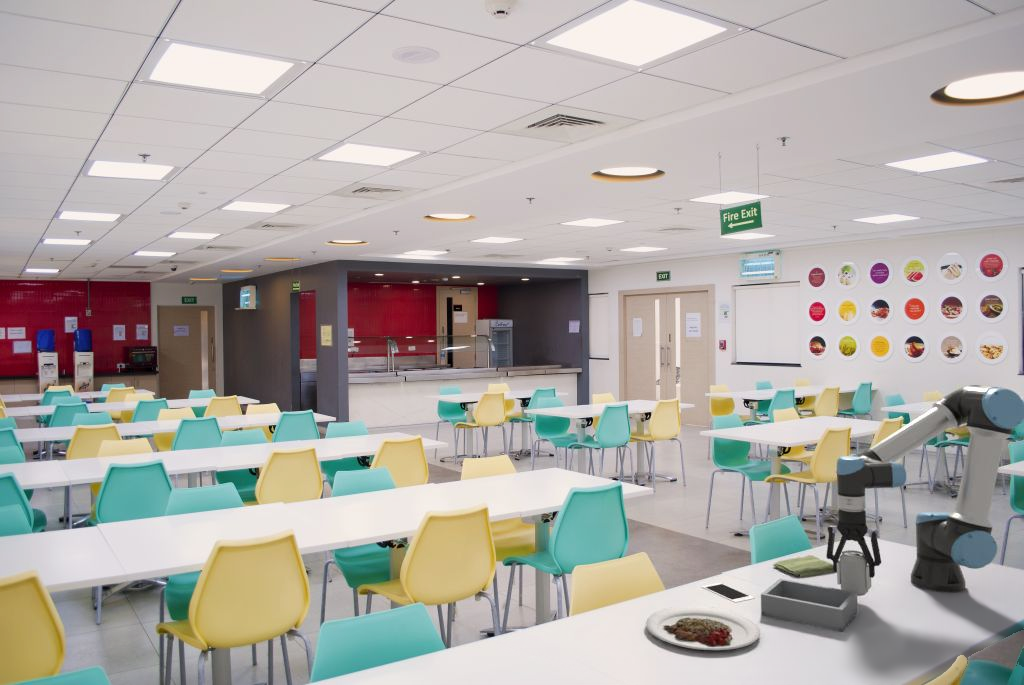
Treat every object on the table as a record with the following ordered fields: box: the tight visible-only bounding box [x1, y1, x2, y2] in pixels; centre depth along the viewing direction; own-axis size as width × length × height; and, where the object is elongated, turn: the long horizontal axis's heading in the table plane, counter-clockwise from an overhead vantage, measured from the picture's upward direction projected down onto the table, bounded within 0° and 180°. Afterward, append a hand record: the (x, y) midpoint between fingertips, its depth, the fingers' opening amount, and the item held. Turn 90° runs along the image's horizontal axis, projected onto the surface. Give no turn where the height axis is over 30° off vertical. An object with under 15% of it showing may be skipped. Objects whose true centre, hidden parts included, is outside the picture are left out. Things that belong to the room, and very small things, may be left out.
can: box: [839, 549, 869, 597], centre depth 223 cm, size 8×8×12 cm
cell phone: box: [701, 582, 756, 603], centre depth 234 cm, size 8×16×1 cm, turn 25°
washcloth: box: [773, 554, 835, 578], centre depth 256 cm, size 13×18×3 cm
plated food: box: [645, 605, 761, 651], centre depth 203 cm, size 30×30×3 cm
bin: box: [760, 578, 858, 633], centre depth 215 cm, size 22×17×6 cm
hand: (854, 585), depth 223 cm, fingers closed on can, 7 cm apart
